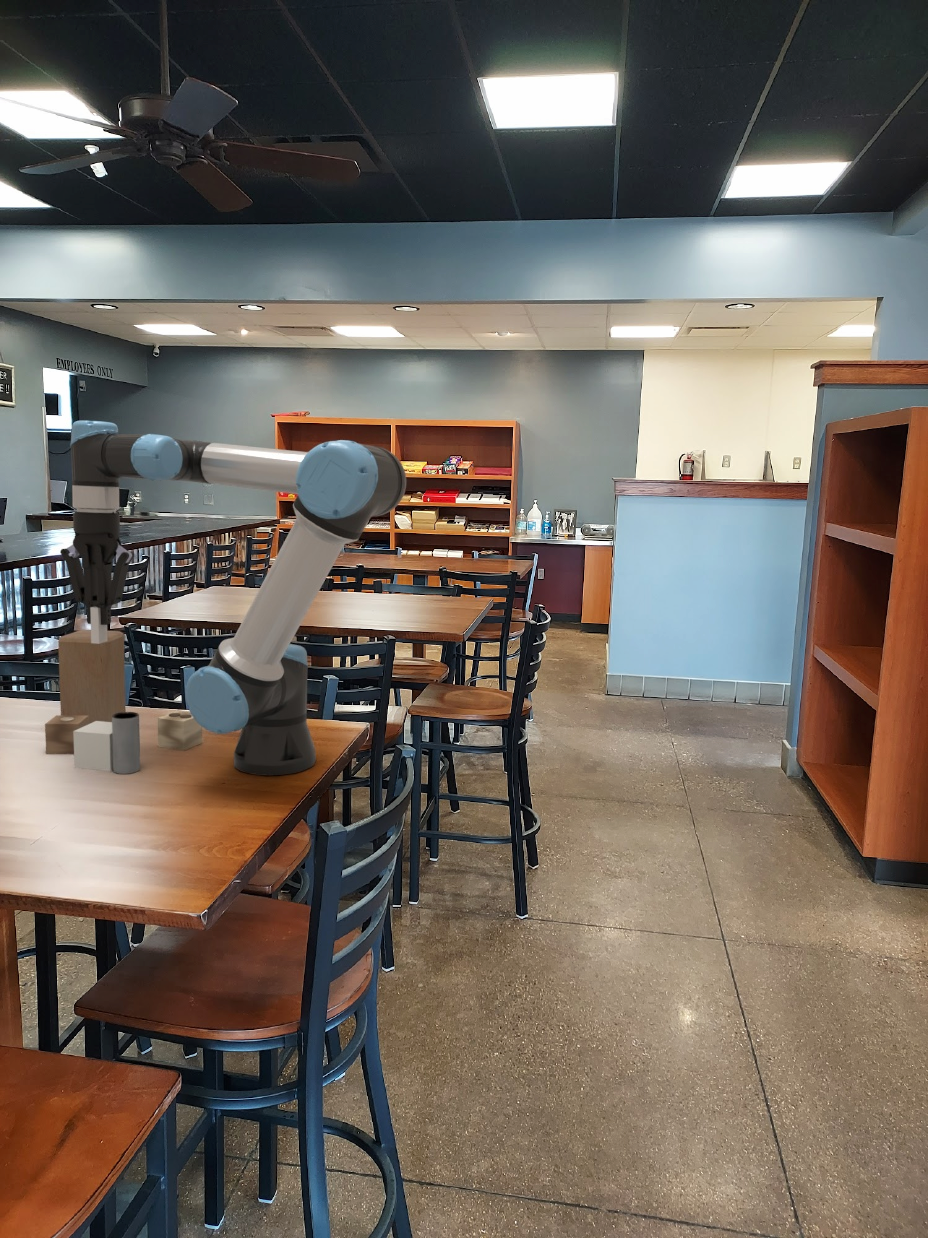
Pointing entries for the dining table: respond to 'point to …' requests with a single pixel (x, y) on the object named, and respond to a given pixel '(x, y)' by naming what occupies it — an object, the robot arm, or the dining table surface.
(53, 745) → the walnut block
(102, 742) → the grey block
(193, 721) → the maple block
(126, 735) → the planter
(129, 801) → the dining table surface
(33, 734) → the dining table surface
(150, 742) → the dining table surface
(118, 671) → the block
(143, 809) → the dining table surface
